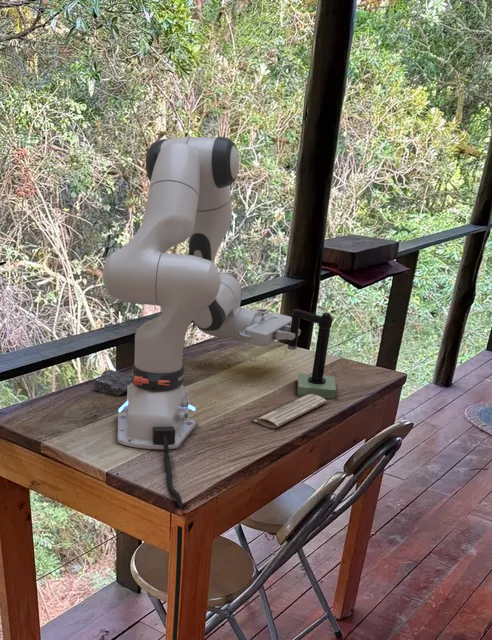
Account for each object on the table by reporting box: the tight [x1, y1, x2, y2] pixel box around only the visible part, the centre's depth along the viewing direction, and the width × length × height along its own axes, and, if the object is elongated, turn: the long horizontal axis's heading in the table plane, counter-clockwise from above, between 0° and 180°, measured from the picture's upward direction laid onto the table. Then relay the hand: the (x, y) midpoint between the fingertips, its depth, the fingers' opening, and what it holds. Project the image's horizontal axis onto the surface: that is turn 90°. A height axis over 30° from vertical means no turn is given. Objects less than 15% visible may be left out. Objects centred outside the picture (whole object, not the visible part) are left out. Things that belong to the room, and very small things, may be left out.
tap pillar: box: [308, 326, 331, 384], centre depth 200 cm, size 5×5×15 cm
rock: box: [94, 369, 132, 396], centre depth 197 cm, size 8×10×4 cm
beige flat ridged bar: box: [253, 394, 327, 429], centre depth 189 cm, size 24×7×2 cm, turn 140°
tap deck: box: [296, 372, 337, 400], centre depth 204 cm, size 11×10×2 cm
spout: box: [287, 308, 334, 351], centre depth 200 cm, size 13×3×12 cm, turn 41°
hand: (296, 334), depth 204 cm, fingers closed on spout, 2 cm apart
